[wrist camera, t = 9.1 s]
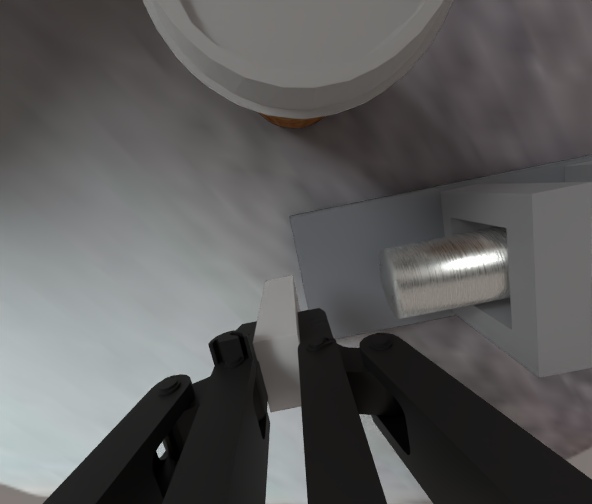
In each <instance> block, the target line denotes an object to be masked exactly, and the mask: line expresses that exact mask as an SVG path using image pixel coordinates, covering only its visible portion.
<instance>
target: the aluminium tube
mask: <svg viewBox="0 0 592 504" xmlns="http://www.w3.org/2000/svg"><path fill="white" fill-rule="evenodd" d="M379 270H380V277H381V282H382V286H383V290H384V293H385V297H386V299H387V302H388V305H389V307H390V309H391V311H392V313H393V314H394V315H395V317H396V318H398V319H403V318H408V317H413V316H418V315H423V314H428V313H433V312H438V311H444V310H449V309H454V308H459V307H464V306H469V305H474V304H479V303H485V302H490V301H495V300H500V299H505V298H510V283H509V265H508V248H507V231H506V228H504V227H499V226H496V227H491V228H486V229H481V230H476V231H471V232H466V233H461V234H456V235H451V236H446V237H441V238H436V239H431V240H426V241H421V242H416V243H411V244H406V245H401V246H396V247H391V248H386V249H382V250H381V252H380V255H379Z"/></svg>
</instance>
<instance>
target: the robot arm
mask: <svg viewBox="0 0 592 504" xmlns="http://www.w3.org/2000/svg"><path fill="white" fill-rule="evenodd" d="M208 345H209V348H210V352H211V355H212V358H213V362H214V365H215V367H214V369H213V372H212V374H211V376H210V377H208V378H206V379H204V380H201V381H199V382H196V383H193V384H192V382H191V379H190V377H189V376H187V375H173V376H170V377H167V378H165V379H164V380H163V381H161V382H159V383H157V384H156V385H155V386H154V387H153V388H152V389H151V390H150V391H149V392H148V393H147V394H146V395H145V396H144V397H143V398H142V399H141V400H140V401H139V402H138V403H137V404H136V406H135V407H134V408H133V409H132V410H131V411H130V412H129V413H128V414H127V415H126V416H125V417H124V418H123V419H122V420H121V421H120V422H119V424H118V425H117V426H116V427H115V428H114V429H113V430H112V431H111V432H110V433H109V434H108V435H107V436H106V437H105V438H104V439H103V440H102V442H101V443H100V444H99V445H98V446H97V447H96V448H95V449H94V450H93V451H92V452H91V453H90V454H89V455H88V456H87V457H86V458H85V459H84V461H83V462H82V463H81V464H80V465H79V466H78V467H77V468H76V469H75V470H74V471H73V472H72V473H71V474H70V475H69V476H68V477H67V479H66V480H65V481H64V482H63V483H62V484H61V485H60V486H59V487H58V488H57V489H56V490H55V491H54V492H53V493H52V494H51V495H50V497H49V498H48V499H47V500H46V501H45V502H44V503H43V504H265V498H266V481H267V465H268V449H269V432H270V421H269V416H268V413H267V402H268V404H269V408H270V412H275V411H280V410H285V409H290V408H295V407H300V406H301V408H302V423H303V438H304V453H305V467H306V482H307V497H308V504H387V502H386V499H385V496H384V492H383V489H382V486H381V483H380V480H379V477H378V473H377V470H376V467H375V464H374V461H373V457H372V454H371V451H370V448H369V445H368V441H367V438H366V435H365V432H364V429H363V426H362V422H361V419H360V416H359V414H367V415H371V416H372V418H373V421H374V423H375V424H376V425H377V427H378V428H379V430H380V431H381V432H382V434H383V435H384V436H385V438H386V439H387V441H388V442H389V443H390V445H391V446H392V447H393V449H394V450H395V451H396V453H397V454H398V456H399V457H400V458H401V460H402V461H403V462H404V464H405V465H406V467H407V468H408V469H409V471H410V472H411V473H412V475H413V476H414V478H415V479H416V480H417V482H418V483H419V484H420V486H421V487H422V489H423V490H424V491H425V493H426V494H427V495H428V497H429V498H430V499H431V501H432V502H433V504H592V479H590V478H589V477H587V476H586V475H585V474H583V473H582V472H581V471H579V470H578V469H577V468H575V467H574V466H573V465H571V464H570V463H569V462H567V461H566V460H564V459H563V458H562V457H560V456H559V455H558V454H556V453H555V452H554V451H552V450H551V449H550V448H548V447H547V446H545V445H544V444H543V443H541V442H540V441H539V440H537V439H536V438H535V437H533V436H532V435H531V434H529V433H528V432H527V431H525V430H524V429H522V428H521V427H520V426H518V425H517V424H516V423H514V422H513V421H512V420H510V419H509V418H508V417H506V416H505V415H504V414H502V413H501V412H499V411H498V410H497V409H495V408H494V407H493V406H491V405H490V404H489V403H487V402H486V401H485V400H483V399H482V398H480V397H479V396H478V395H476V394H475V393H474V392H472V391H471V390H470V389H468V388H467V387H466V386H464V385H463V384H462V383H460V382H459V381H457V380H456V379H455V378H453V377H452V376H451V375H449V374H448V373H447V372H445V371H444V370H443V369H441V368H440V367H439V366H437V365H436V364H434V363H433V362H432V361H430V360H429V359H428V358H426V357H425V356H424V355H422V354H421V353H420V352H418V351H417V350H415V349H414V348H413V347H411V346H410V345H409V344H407V343H406V342H405V341H403V340H402V339H401V338H399V337H397V336H395V335H393V334H388V333H376V334H373V335H369V336H367V337H365V338H364V339H363V340H362V341H361V342H360V348H348V347H343V346H341V345H338V344H337V343H336V340H335V339H334V338H333V335H332V332H331V329H330V325H329V322H328V319H327V316H326V312H325V311H324V310H322V309H320V308H316V309H311V310H306V311H301V312H300V307H299V303H298V298H297V293H296V289H295V284H294V279H293V276H288V277H283V278H278V279H273V280H268V281H265V286H264V291H263V295H262V300H261V305H260V310H259V315H258V320H257V321H256V322H251V323H246V324H242V325H241V326H240V327H239V328H238V329H237V330H235V331H229V332H226V333H223V334H221V335H219V336H217V337H215V338H214V339H213V340H211V342H210V343H209V344H208ZM162 441H163V444H164V447H165V450H166V451H165V453H164V454H163V455H162V456H161V457H160V458H159V457H158V455H157V452H156V450H157V448H158V447H159V445H160V444H161V443H162Z"/></svg>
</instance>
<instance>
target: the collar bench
mask: <svg viewBox="0 0 592 504" xmlns="http://www.w3.org/2000/svg"><path fill="white" fill-rule="evenodd" d="M290 222H291V227H292V232H293V237H294V242H295V247H296V251H297V256H298V261H299V266H300V271H301V276H302V281H303V286H304V291H305V295H306V300H307V305H308V310H311V309H316V308H320V309H322V310H324V311H325V312H326V316H327V319H328V322H329V325H330V329H331V332H332V335H333V338H334V339H337V338H342V337H347V336H352V335H358V334H363V333H368V332H373V331H378V330H383V329H388V328H393V327H399V326H404V325H409V324H414V323H419V322H424V321H429V320H435V319H440V318H445V317H450V316H455V315H457V316H458V317H460V318H461V319H462V320H463V321H465V322H466V323H467V324H469V325H470V326H471V327H473V328H474V329H475V330H477V331H478V332H479V333H481V334H482V335H483V336H485V337H486V338H487V339H488V340H490V341H491V342H492V343H494V344H495V345H496V346H498V347H499V348H500V349H502V350H503V351H504V352H506V353H507V354H508V355H509V356H511V357H512V358H513V359H515V360H516V361H517V362H519V363H520V364H521V365H523V366H524V367H525V368H527V369H528V370H529V371H530V372H532V373H533V374H534V375H536V376H537V377H538V378H542V377H547V376H552V375H558V374H563V373H568V372H573V371H579V370H584V369H589V368H592V155H588V156H583V157H578V158H573V159H568V160H563V161H558V162H553V163H548V164H543V165H538V166H534V167H529V168H524V169H519V170H514V171H509V172H504V173H499V174H494V175H489V176H484V177H479V178H474V179H469V180H465V181H460V182H455V183H450V184H445V185H440V186H435V187H430V188H425V189H420V190H415V191H410V192H405V193H401V194H396V195H391V196H386V197H381V198H376V199H371V200H366V201H361V202H356V203H351V204H346V205H341V206H337V207H332V208H327V209H322V210H317V211H312V212H307V213H302V214H297V215H292V216H290ZM496 226H499V227H504V228H506V231H507V248H508V265H509V283H510V298H505V299H500V300H495V301H490V302H485V303H479V304H474V305H469V306H464V307H459V308H454V309H449V310H444V311H438V312H433V313H428V314H423V315H418V316H413V317H408V318H403V319H398V318H396V317H395V315H394V314H393V313H392V311H391V309H390V307H389V305H388V302H387V299H386V297H385V293H384V290H383V286H382V282H381V277H380V270H379V255H380V252H381V250H382V249H386V248H391V247H396V246H401V245H406V244H411V243H416V242H421V241H426V240H431V239H436V238H441V237H446V236H451V235H456V234H461V233H466V232H471V231H476V230H481V229H486V228H491V227H496Z"/></svg>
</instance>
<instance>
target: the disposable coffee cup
mask: <svg viewBox="0 0 592 504" xmlns="http://www.w3.org/2000/svg"><path fill="white" fill-rule="evenodd" d="M453 1H454V0H143V3H144V5H145V7H146V9H147V11H148V13H149V15H150V17H151V19H152V21H153V23H154V25H155V27H156V29H157V31H158V32H159V33H160V35H161V36H162V38H163V39H164V41H165V42H166V43H167V45H168V46H169V48H170V49H171V51H172V52H173V53H174V55H175V56H176V57H177V58H178V60H179V61H180V62H181V63H182V64H183V65H184V66H185V67H186V68H187V69H188V70H189V71H190V72H191V73H192V74H193V75H194V76H195V77H196V78H198V79H199V80H200V81H201V82H202V83H203V84H205V85H206V86H207V87H209V88H210V89H212V90H213V91H215V92H217V93H218V94H220V95H222V96H223V97H225V98H226V99H228V100H230V101H231V102H233V103H235V104H237V105H239V106H241V107H244V108H247V109H250V110H253V111H256V112H258V113H259V114H260V115H262V116H263V117H264V118H265V119H267V120H268V121H270V122H271V123H273V124H276V125H279V126H281V127H287V128H302V127H306V126H310V125H312V124H314V123H316V122H318V121H320V120H321V119H322V118H324V117H325V116H328V115H334V114H338V113H341V112H343V111H346V110H349V109H351V108H354V107H357V106H359V105H362V104H364V103H366V102H368V101H369V100H371V99H373V98H374V97H376V96H378V95H379V94H381V93H382V92H384V91H385V90H386V89H388V88H389V87H390V86H391V85H393V84H394V83H395V82H397V81H398V80H399V79H400V78H402V77H403V76H404V75H405V74H406V73H407V72H408V71H409V70H410V69H411V68H412V66H413V65H414V64H415V63H416V62H417V61H418V59H419V58H420V57H421V56H422V55H423V54H424V52H425V51H426V50H427V49H428V47H429V46H430V44H431V43H432V41H433V39H434V38H435V36H436V35H437V33H438V31H439V30H440V28H441V27H442V25H443V23H444V20H445V18H446V16H447V14H448V12H449V9H450V7H451V5H452V3H453Z"/></svg>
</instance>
